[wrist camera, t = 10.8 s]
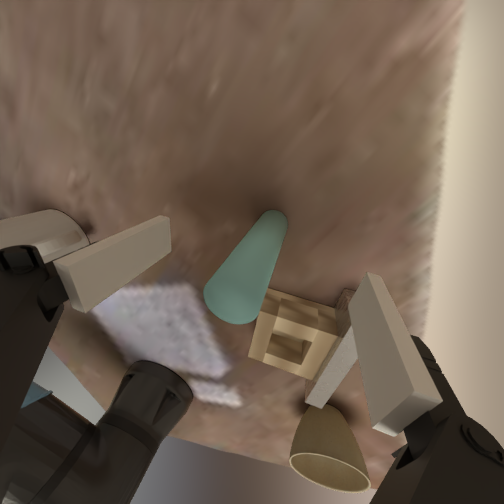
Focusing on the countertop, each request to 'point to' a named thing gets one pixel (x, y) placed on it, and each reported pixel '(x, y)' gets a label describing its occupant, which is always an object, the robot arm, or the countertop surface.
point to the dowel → (247, 271)
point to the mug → (43, 233)
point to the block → (293, 333)
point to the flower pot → (328, 451)
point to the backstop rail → (334, 357)
